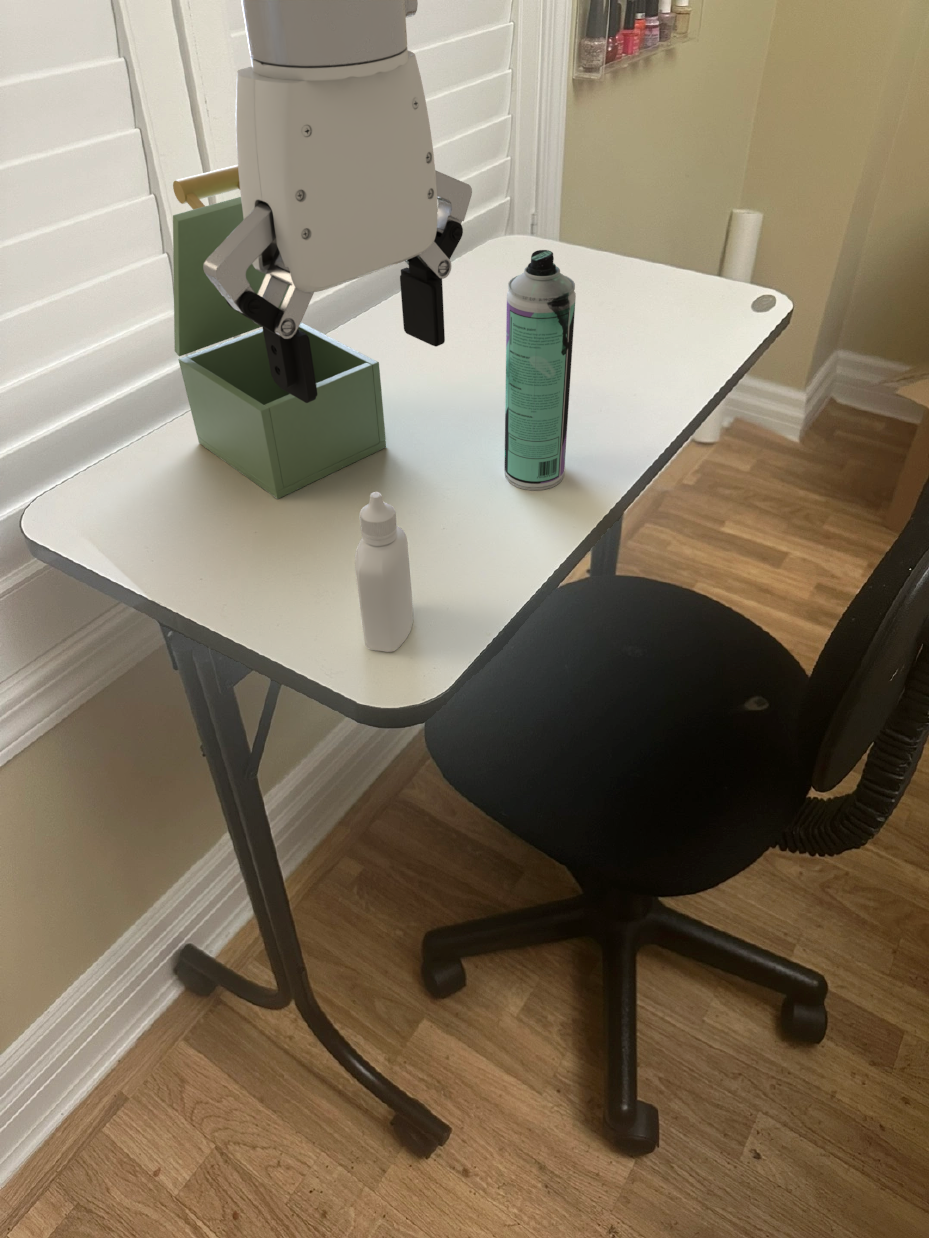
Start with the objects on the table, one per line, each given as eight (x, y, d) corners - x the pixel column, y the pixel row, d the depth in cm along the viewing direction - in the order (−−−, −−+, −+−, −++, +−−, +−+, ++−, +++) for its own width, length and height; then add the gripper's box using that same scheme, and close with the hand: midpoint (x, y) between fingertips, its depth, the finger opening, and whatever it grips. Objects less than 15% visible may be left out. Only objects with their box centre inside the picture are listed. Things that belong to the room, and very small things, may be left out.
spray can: (574, 468, 84) (590, 248, 70) (545, 497, 80) (556, 272, 67) (523, 452, 86) (529, 236, 73) (493, 479, 83) (493, 258, 69)
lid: (310, 184, 76) (268, 140, 78) (178, 221, 70) (135, 172, 71) (293, 315, 88) (257, 275, 90) (179, 357, 82) (142, 312, 84)
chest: (386, 447, 87) (379, 362, 81) (277, 499, 81) (260, 411, 75) (304, 398, 95) (291, 317, 89) (198, 443, 88) (177, 358, 82)
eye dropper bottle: (341, 635, 67) (321, 501, 59) (394, 597, 70) (381, 465, 62) (384, 661, 65) (369, 526, 57) (436, 621, 68) (428, 487, 60)
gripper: (413, -3, 49) (429, 304, 61) (121, 48, 41) (205, 395, 52) (512, 11, 45) (509, 338, 56) (210, 72, 36) (279, 442, 48)
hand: (363, 365), depth 54 cm, fingers open, 9 cm apart
